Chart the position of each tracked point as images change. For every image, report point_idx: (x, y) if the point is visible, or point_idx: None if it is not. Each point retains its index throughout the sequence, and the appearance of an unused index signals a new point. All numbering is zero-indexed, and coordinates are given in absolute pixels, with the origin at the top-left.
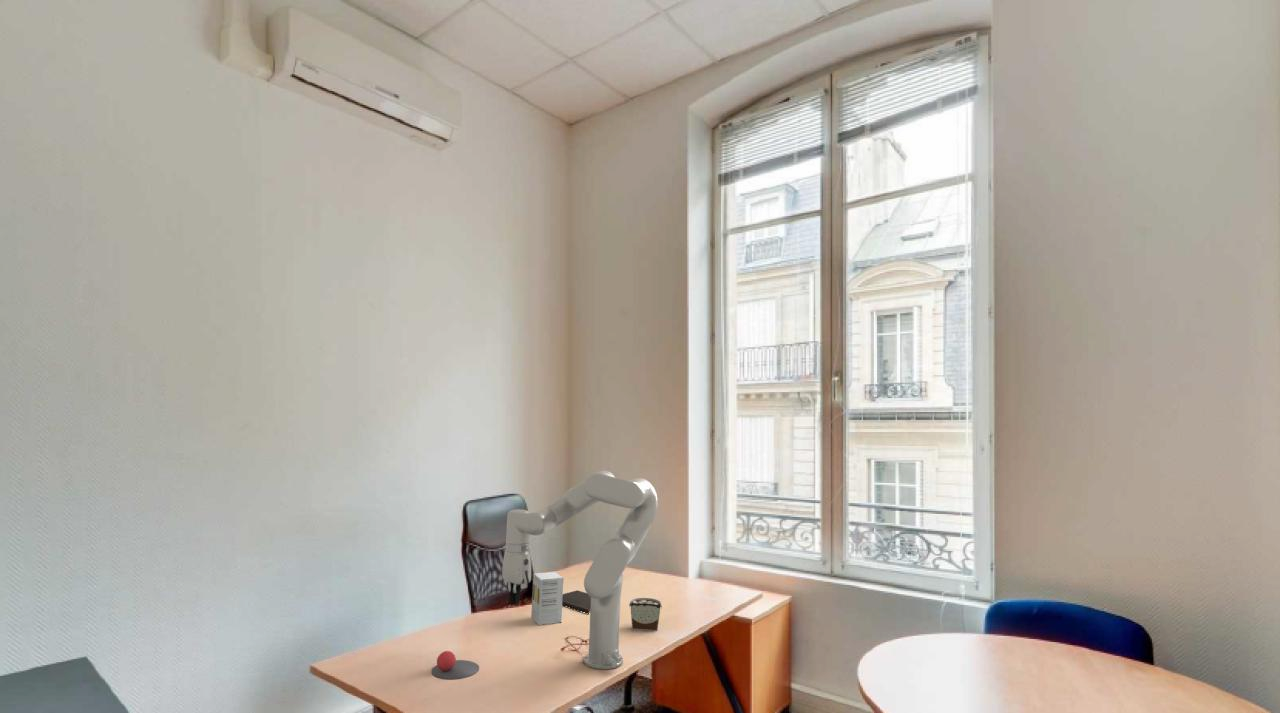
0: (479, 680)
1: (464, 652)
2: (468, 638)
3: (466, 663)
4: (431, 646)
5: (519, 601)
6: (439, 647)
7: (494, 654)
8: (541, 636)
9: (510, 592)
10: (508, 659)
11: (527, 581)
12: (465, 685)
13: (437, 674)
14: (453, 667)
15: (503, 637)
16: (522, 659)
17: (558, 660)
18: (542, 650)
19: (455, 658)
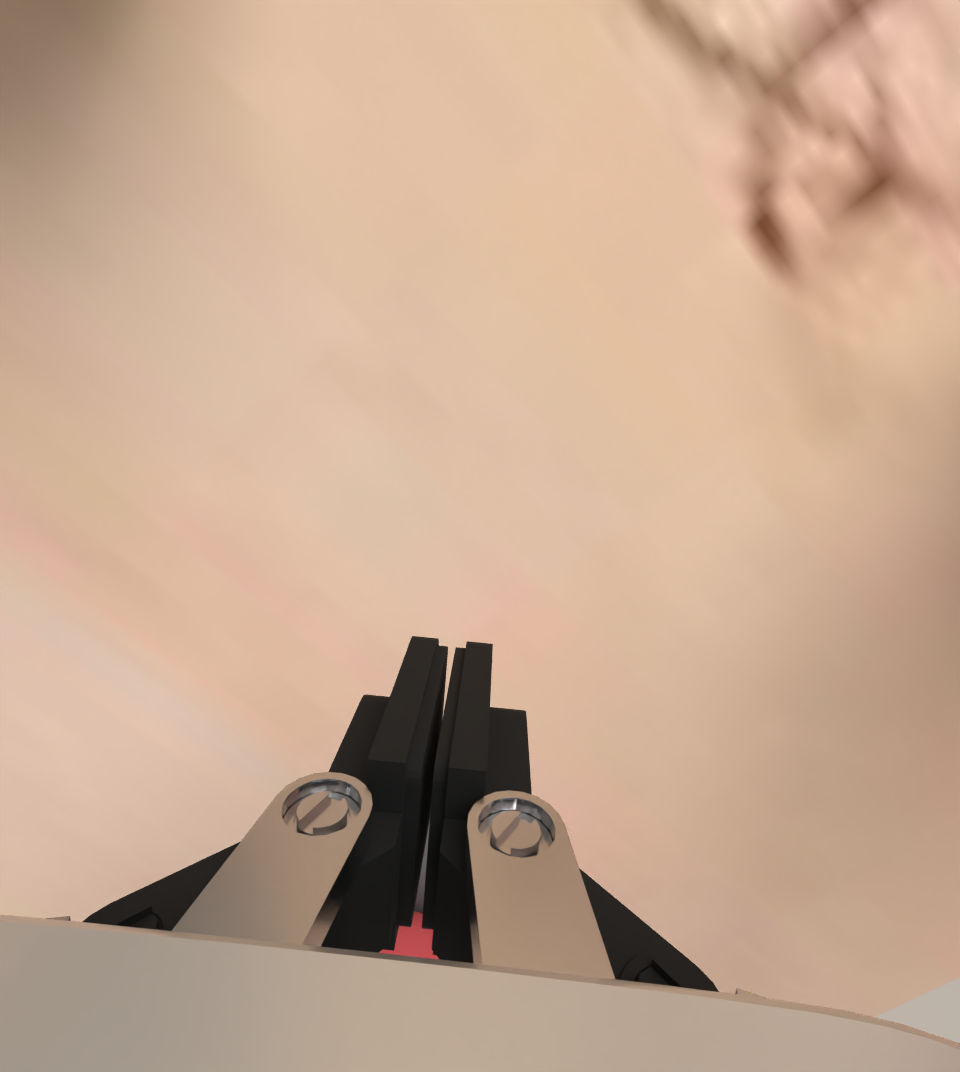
0: (646, 912)
1: (273, 722)
2: (75, 550)
3: (428, 827)
4: (57, 771)
5: (491, 655)
6: (102, 755)
7: (437, 638)
8: (433, 125)
9: (389, 945)
10: (569, 642)
11: (853, 1052)
12: None
13: None
14: (418, 893)
15: (225, 370)
16: (644, 589)
17: (874, 449)
18: (653, 376)
19: (436, 957)
